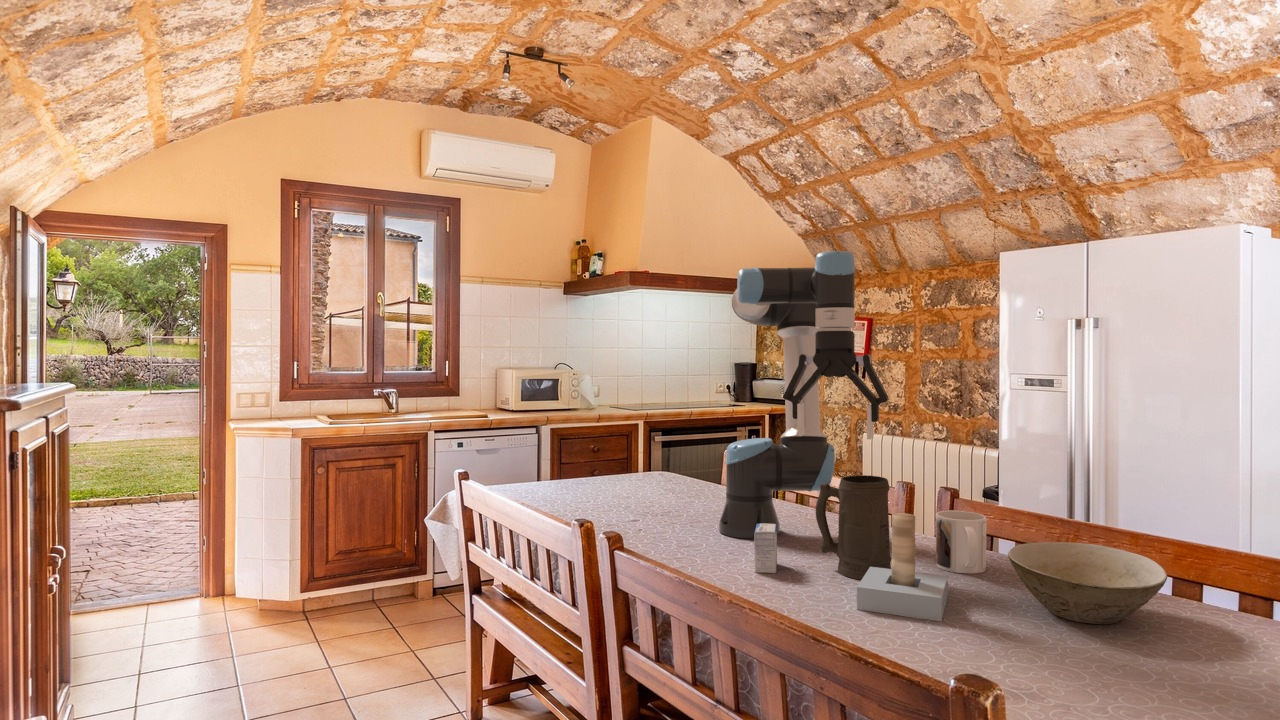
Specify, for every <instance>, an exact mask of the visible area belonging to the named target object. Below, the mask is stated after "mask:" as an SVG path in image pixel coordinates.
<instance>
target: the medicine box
mask: <svg viewBox="0 0 1280 720" xmlns="http://www.w3.org/2000/svg"><path fill="white" fill-rule="evenodd" d="M777 537H778V535H777V525H776V524H765V523H764V524H757V526H756V530H755V534H754V539H753V540H754V544H753V545H754V572H755V573H761V574H776V573H777V565H778V543H777V542H778V539H777Z"/></svg>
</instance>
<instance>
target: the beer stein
mask: <svg viewBox="0 0 1280 720" xmlns="http://www.w3.org/2000/svg"><path fill="white" fill-rule="evenodd" d="M890 490H891V487H890V484H889V480H888V478H886V477H883V476H877V475H865V474H863V475H862V474H860V475H859V474H858V475H846V476H842V477H841V478H840V481H839V485H838V487H835V486H831V484H830V485H829V484H827V483H825V484H820V491H819V494H818V498H817V499H816V500H817V501H816V502H815V503H816V504H815V518H816V523H817V526H818V529H819V531H820V533H821V536H822V541H823V542H822V543H821V545H820V551H821V553H822V554H826V553H833V554H835V555H836V556H837V557H838V559H839V560H838V565H837V571H838V572H839V574H841V575H842V576H844V577H848V578H850V579H855V580H860V581H861V580H862V578H863V577H864V575H865V574H866V572H867V571H868V569H869V568H870V567H878V568H886V569H892V555H891V546H890V544H891V543H890V541H891V540H890V539H891V538H890V520H889V516H890V515H889V491H890ZM831 497H834V498H837V499H838V502H839V503H838V504H839V505H838V535H837V537H838V538H837V539H838V540H837V541H838V542H835V541H834V540H833V538H832V535H831V532H830V528H829V524H828V519H827V514H826V512H827V508H826V507H827V506H826V505H827V501H828V499H829V498H831Z"/></svg>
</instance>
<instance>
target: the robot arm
mask: <svg viewBox="0 0 1280 720" xmlns="http://www.w3.org/2000/svg"><path fill="white" fill-rule="evenodd" d="M814 264H815V266H814V267H787V268H786V267H778V268H777V267H750V268H749V267H748V268H742V269H740V270H739V271H738V272H737V273H738V274H737V278H736V279H737V283H736V285H737V287H736V289H735V291H734V292H733V295H732V297H731V307H732V310H733V311H734V313H735V315H736V316H737V317H738V318H740V320H742V321H744V322H747V323H750V324H752V325H756V326H761V327H776V330H777V331H776V333H777V335H778V336H779V338H782V340H783V341H782V342H783V370H784V371H783V372H784V374H783V375H784V393H783V395H782V398H783V399H784V401H785V402H784V403H785V404H784V405H785V431H784V432H783V433H782V435H781V436H780V438H779V439H780V441H779V443H774V441H773V439H772V438H769V437H762V438H760V437H755V438H748V439H747V438H746V439H741V440H737V441H734V442H732V443H730V444H729V445H728V446H727V447H726V453H725V454H726V457H725V464H726V465H725V466H726V471H725V473H726V474H725V477H726V478H725V482H726V483H725V486H726V487H725V492H726V494H725V496H726V497H725V498H726V499H725V504H724V507H723V509H722V513H721V517H720V519H719V523H718V525H719V526H718V529H719V530H718V531H719V533H720V534H723V535H724V536H729V537H732V538H738V539H753V540H754V534H755V530H756V526H757V524H764V523H765V524H776V525H777V536H779V534H780V532H781V531H780V530H781V528H780V527H781V526H780V525H781V524H780V522H779V521H780V520H779V517H778V515H777V512H776V509H775V505H774V503H773V501H774V499H773V492H777V491H781V492H782V491H783V492H785V491H786V492H790V491H791V492H793V491H794V492H796V491H797V492H809V493H810V492H814V491H815V492H817V491H819V492H820V484H825V483H827V484H829V485H830V486H831V483H832V480H833V477H834V469H835V458H836V454H835V447H834V445H833V444H830V443H828V437H827V435H826V434H825V433H823V431H822V430H821V415H820V414H821V410H820V408H821V407H820V387H819V386H820V385H819V381H820V379H821V378H823V377H825V378H831V377H837V378H844V377H847V378H848V379H849V380H850V381H851V382H852V383H853V384H854V385H855V386H856V389H858V390H859V392H860V393H861V394H862V395H863V396H864V397H865V398H866V400H868V401H869V403H870V404H868V405H866V440H872V439H874V423H877V422H878V421H879V419H880V405H881V404H883V403H886V402H888V401H889V400H890V397H889V394H888V393H887V392H886V390H885V387H884V385H883V384H882V382H881V380H880V378H879V376H878V374H877V372H876V370H875V368H874V366H873V359H872V355H871V354H864V355H857V354H856V352H855V332H854V331H853V330H852V329H854V328H855V325H856V323H855V314H856V313H855V308H856V307H855V277H856V275H855V273H856V267H855V256H854V254H853V253H852V252H851V251H846V250H845V251H844V250H833V251H831V250H830V251H829V250H828V251H821V252H818V253H817V254H816V256H815V263H814ZM857 362H858V363H859V365H860V366H862V367H863V368H864V370H865V373H866V374H867V376H868V378H869V380H870V382H871V384H872V386H873V388H874V390H875V392H876V394H877V396H878V397H877V396H876V395H875V394H874V392H872V390H871V389H870V387H868V386H867V385H866V383H865V382H864V381H863V380H862V379H861V377H860V376H859V374H858V373H857V372H856V371H855V370H854V369H853V367H854V366H855V365H856V364H857Z"/></svg>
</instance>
